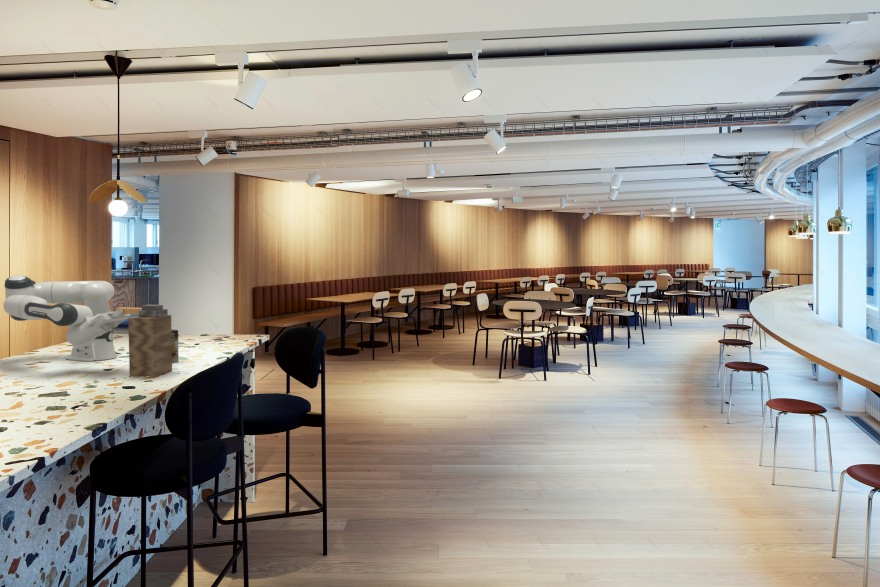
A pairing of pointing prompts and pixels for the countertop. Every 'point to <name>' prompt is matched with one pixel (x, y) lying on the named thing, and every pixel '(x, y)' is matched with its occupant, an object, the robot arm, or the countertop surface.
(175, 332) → the coffee box
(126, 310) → the handled tool
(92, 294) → the robot arm
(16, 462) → the countertop surface
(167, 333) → the stand
